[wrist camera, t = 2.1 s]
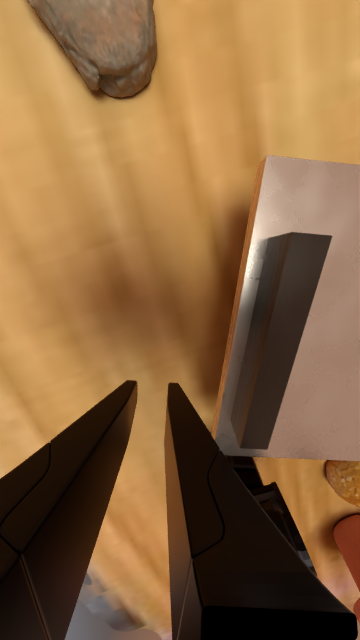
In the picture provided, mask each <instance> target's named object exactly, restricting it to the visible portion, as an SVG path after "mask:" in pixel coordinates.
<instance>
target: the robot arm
mask: <svg viewBox="0 0 360 640" xmlns="http://www.w3.org/2000/svg"><path fill="white" fill-rule="evenodd" d="M136 404H137V381H134V380H127V381H125V382H124V383H123V384H122V385H120V386H119V387H118V388H117V389H115V390H114V391H113V392H112V393H110V394H109V395H108V396H106V397H105V398H104V399H103V400H101V401H100V402H99V403H98V404H96V405H95V406H94V407H93V408H91V409H90V410H89V411H87V412H86V413H85V414H84V415H82V416H81V417H80V418H79V419H77V420H76V421H75V422H74V423H72V424H71V425H70V426H69V427H67V428H66V429H65V430H63V431H62V432H61V433H60V434H58V435H57V436H56V437H55V438H53V439H52V440H51V441H50V443H47V444H46V445H44V446H43V447H42V448H41V449H39V450H38V451H37V452H35V453H34V454H33V455H32V456H30V457H29V458H28V459H26V460H25V461H24V462H22V463H21V464H20V465H18V466H17V467H16V468H14V469H13V470H12V471H10V472H9V473H8V474H6V475H5V476H3V477H2V478H1V479H0V640H64V639H65V637H66V633H67V630H68V627H69V624H70V621H71V618H72V615H73V612H74V608H75V606H76V603H77V599H78V596H79V593H80V590H81V587H82V584H83V581H84V578H85V575H86V572H87V569H88V565H89V562H90V559H91V556H92V553H93V550H94V547H95V544H96V541H97V538H98V535H99V531H100V528H101V525H102V522H103V519H104V516H105V513H106V510H107V507H108V504H109V501H110V497H111V494H112V491H113V488H114V485H115V482H116V479H117V476H118V473H119V470H120V467H121V463H122V460H123V457H124V454H125V451H126V448H127V445H128V441H129V437H130V433H131V428H132V423H133V418H134V413H135V409H136ZM164 450H165V474H166V499H167V523H168V548H169V572H170V597H171V621H172V640H356V638H357V636H358V630H357V618H356V615H355V614H354V613H352V612H351V611H350V610H349V609H348V608H347V607H346V606H344V605H343V604H342V603H341V602H340V601H339V600H338V599H337V598H336V597H335V596H334V595H333V594H332V593H331V592H330V591H329V590H328V589H327V588H326V587H325V586H324V585H323V584H322V583H321V581H320V580H319V579H318V578H317V574H316V571H315V569H314V566H313V564H312V561H311V559H310V556H309V554H308V552H307V549H306V547H305V545H304V542H303V540H302V538H301V536H300V533H299V531H298V529H297V527H296V525H295V522H294V520H293V518H292V516H291V514H290V512H289V510H288V507H287V505H286V503H285V501H284V499H283V497H282V495H281V492H280V490H279V488H278V486H277V484H276V482H272V483H271V484H269V485H265V486H264V485H263V482H262V479H261V477H260V474H259V472H258V469H257V466H256V464H255V461H254V459H253V457H252V456H229V455H224V454H223V452H222V451H221V450H220V448H219V446H218V445H217V443H216V442H215V440H214V438H213V437H212V435H211V433H210V432H209V431H208V429H207V427H206V426H205V424H204V423H203V421H202V420H201V418H200V416H199V415H198V413H197V412H196V410H195V409H194V407H193V405H192V404H191V402H190V401H189V399H188V398H187V396H186V394H185V393H184V391H183V390H182V388H181V387H180V385H179V384H178V383H169V384H168V396H167V410H166V424H165V440H164Z"/></svg>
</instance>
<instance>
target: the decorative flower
mask: <svg viewBox="0 0 360 640" xmlns="http://www.w3.org/2000/svg"><path fill="white" fill-rule="evenodd" d="M333 535H334V539H335V541H336V544H337V546H338V548H339V550H340V552H341V554H342V556H343V558H344V560H345V562H346V564H347V566H348V568H349V570H350V572H351V574H352V577H353V579H354V581H355V583H356V585H357V587H358V589H359V591H360V515H354V516H350V517H347V518H345V519H343V520H342V521H340V522H338V524H337V525H336V526H335V528H334V532H333ZM353 611H354V613H355V615H356V617H357V619H358V621H359V623H360V598H359V599H358V600H357V601H356V603H355V604H354V608H353Z"/></svg>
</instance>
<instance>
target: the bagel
mask: <svg viewBox="0 0 360 640" xmlns="http://www.w3.org/2000/svg"><path fill="white" fill-rule="evenodd" d="M326 474H327V478H328V482H329V484H330V485H331V487H332V488H333V489H334V490H335V492H336V493H337V494H338V496H339V497H341V498H342V499H344V500H345V501H347V502H348V503H351V504H353V505H356V506H360V461H343V460H330V461H328V462H327V465H326Z"/></svg>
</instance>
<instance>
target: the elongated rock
mask: <svg viewBox="0 0 360 640" xmlns="http://www.w3.org/2000/svg"><path fill="white" fill-rule="evenodd" d="M27 1H28V3H29V4H30V5H31V6H32V7H33V8H34V9H35V11H36V13H37V15H38V16H39V17H40V19H41V20H42V22H43V23H45V24H46V26H47V28H48V29H49V30H50V32H51V33H52V34H53V36H54V37H55V38H56V39H57V41H58V42H59V43H60V44H61V45H62V47H63V49H64V51H65V53H66V55H67V56H68V57H69V58H70V59H71V61H72V63H73V65H74V66H75V67H77V69H78V71H79V73H80V75H81V76H82V78H83V79H84V81H85V83H86V84H87V86H88V87H89V89H90V90H98V89H99V87H101V89H102V90H103V91H104V92H105V93H107V94H108V95H109V96H113V97H121V98H123V97H126V96H131V95H132V96H133V95H134V94H135V93H136V92H138V91H140V90H141V89H143V88H144V87H145V85H146V84H148V82H149V81H150V78H151V71H152V69H153V67H154V64H155V58H156V51H157V42H156V34H155V17H154V11H153V2H154V1H153V0H27Z"/></svg>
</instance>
